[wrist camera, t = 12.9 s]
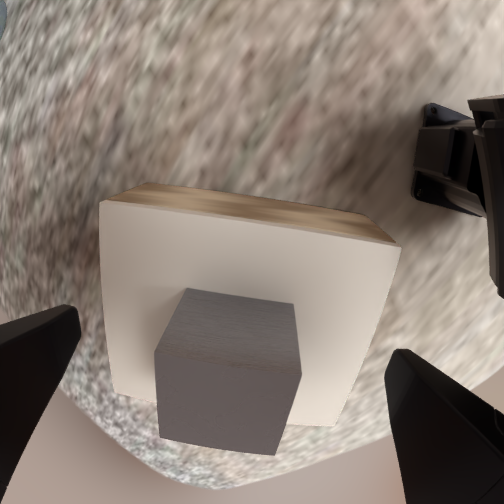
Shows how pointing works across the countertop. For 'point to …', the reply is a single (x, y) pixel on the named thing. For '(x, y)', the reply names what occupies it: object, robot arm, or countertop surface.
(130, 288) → the lid
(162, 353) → the block
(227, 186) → the countertop surface
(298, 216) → the box
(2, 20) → the gray green planter pot
